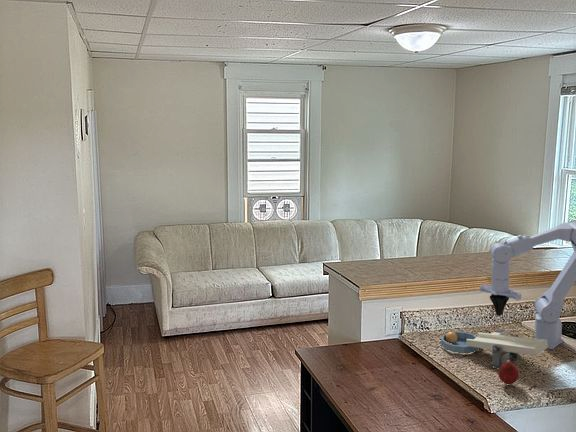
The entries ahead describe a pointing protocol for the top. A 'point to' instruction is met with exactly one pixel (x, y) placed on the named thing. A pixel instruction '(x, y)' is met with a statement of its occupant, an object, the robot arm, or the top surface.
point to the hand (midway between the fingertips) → (499, 314)
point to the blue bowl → (459, 343)
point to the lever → (508, 343)
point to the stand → (502, 360)
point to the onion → (508, 373)
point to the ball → (451, 337)
